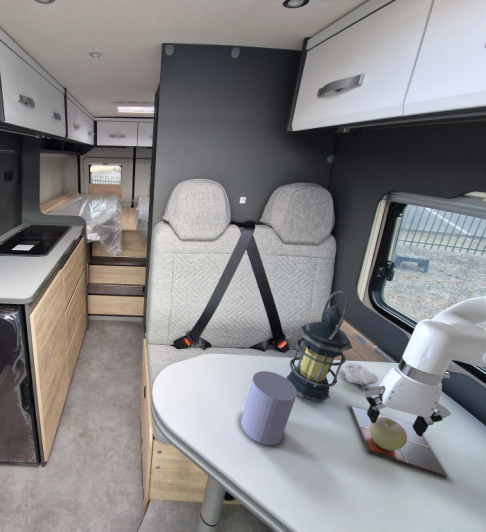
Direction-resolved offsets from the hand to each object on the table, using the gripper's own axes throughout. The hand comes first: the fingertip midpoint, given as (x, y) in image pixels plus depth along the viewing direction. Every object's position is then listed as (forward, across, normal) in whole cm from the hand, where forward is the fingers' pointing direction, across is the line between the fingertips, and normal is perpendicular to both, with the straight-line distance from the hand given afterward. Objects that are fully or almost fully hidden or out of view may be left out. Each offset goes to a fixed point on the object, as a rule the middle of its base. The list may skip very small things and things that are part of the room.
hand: (393, 425), depth 78 cm
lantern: (+7, +17, -14) cm, 23 cm away
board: (+7, -3, -4) cm, 9 cm away
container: (+7, +31, +8) cm, 33 cm away
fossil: (+8, -1, -28) cm, 29 cm away
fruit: (+6, 0, 0) cm, 7 cm away
